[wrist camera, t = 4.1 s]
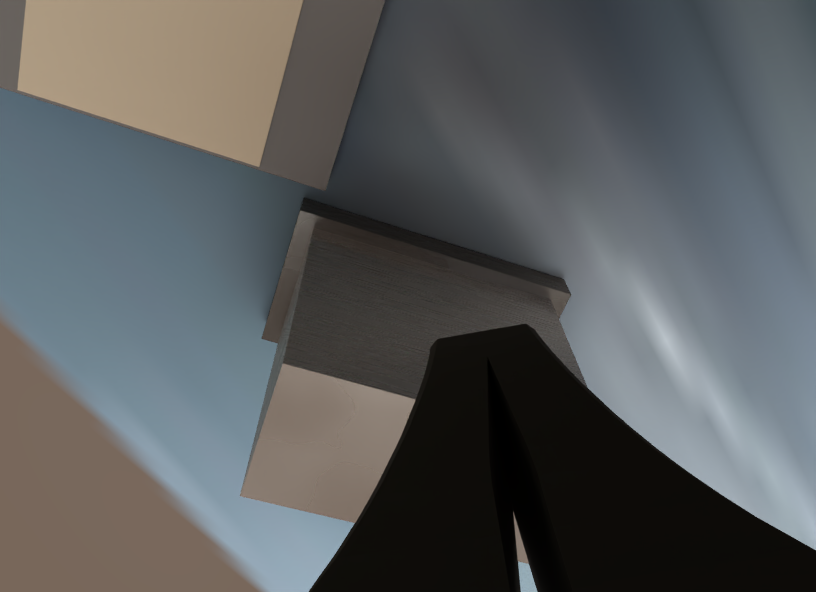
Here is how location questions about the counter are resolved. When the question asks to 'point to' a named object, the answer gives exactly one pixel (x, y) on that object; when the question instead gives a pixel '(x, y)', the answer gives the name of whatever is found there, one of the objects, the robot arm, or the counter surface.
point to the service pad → (201, 71)
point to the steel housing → (372, 350)
